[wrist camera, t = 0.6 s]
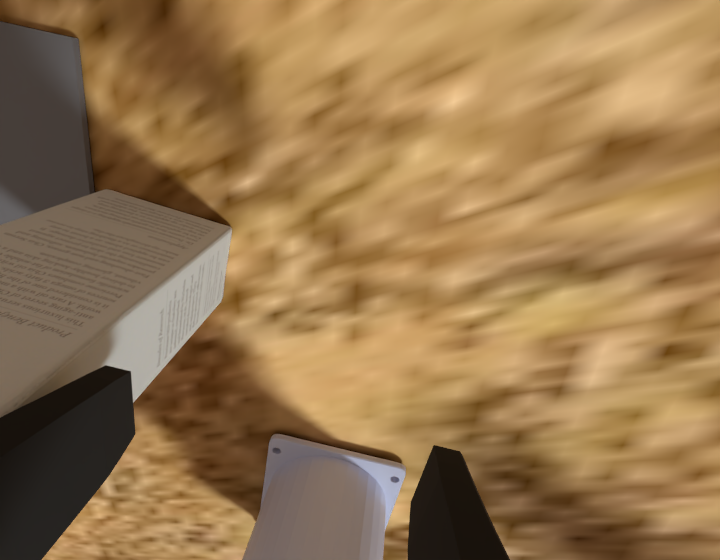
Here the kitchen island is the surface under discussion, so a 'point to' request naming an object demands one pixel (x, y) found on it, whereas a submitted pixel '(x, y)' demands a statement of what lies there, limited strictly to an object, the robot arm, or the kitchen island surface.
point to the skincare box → (102, 291)
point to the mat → (41, 122)
